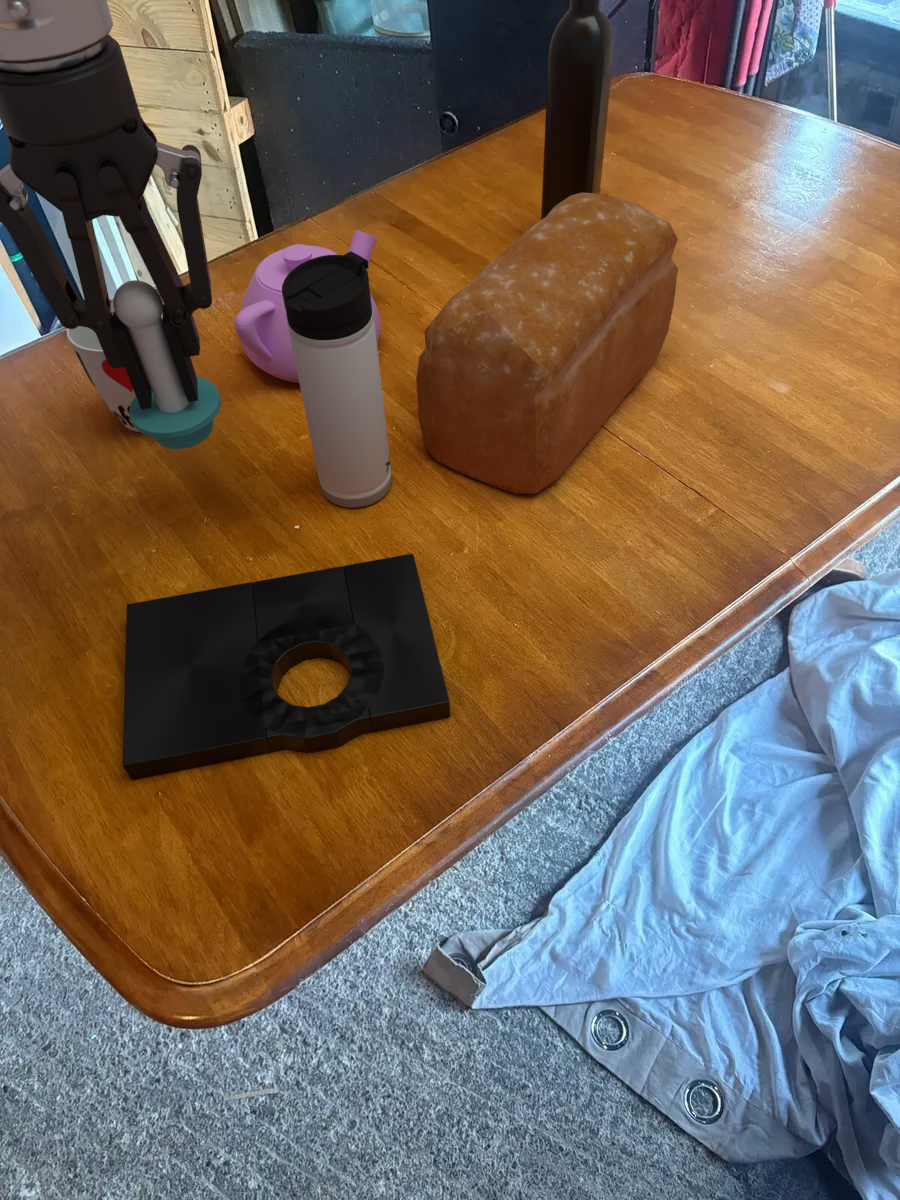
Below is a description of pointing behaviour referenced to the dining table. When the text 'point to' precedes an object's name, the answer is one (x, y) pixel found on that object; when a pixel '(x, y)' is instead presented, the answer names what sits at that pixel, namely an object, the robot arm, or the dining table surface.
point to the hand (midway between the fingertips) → (169, 393)
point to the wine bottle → (576, 103)
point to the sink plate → (276, 665)
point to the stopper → (163, 374)
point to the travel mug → (340, 376)
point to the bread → (547, 342)
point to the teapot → (283, 307)
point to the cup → (104, 373)
